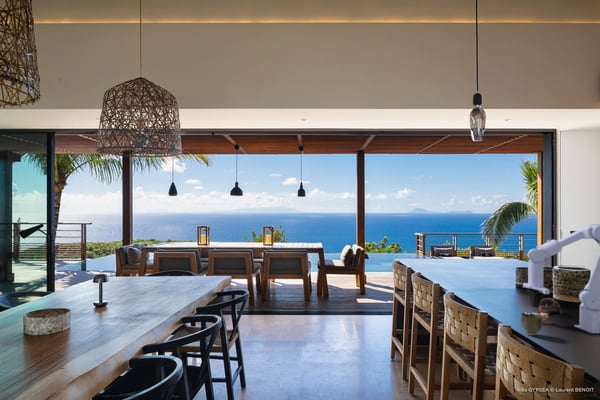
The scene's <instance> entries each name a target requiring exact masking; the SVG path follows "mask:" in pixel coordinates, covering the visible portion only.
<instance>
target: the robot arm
mask: <svg viewBox="0 0 600 400" xmlns="http://www.w3.org/2000/svg"><path fill="white" fill-rule="evenodd" d="M583 239H585V240H588V239H589V240H592V239H593V240H594V241H595V242H596V243H597V245H598V246H599V247H600V224H598V223H594V224H591V225H589V226H585V227H582V228H580V229H578V230H576V231H573V232H571V233H570V234H568V235H566V236H564V237H562V238H560V239H558V240H557V239H551V240H550V239H547V240H546V242H545V243H543V244H541V245H536V247H535V248H531V249H530V250H529V251H528V253H527V255H526V256H527V259H528V266H527V276H528V277H527V281H528V282H523V283H522V288H526V289H527V290H526V293H527V294H528V296H529V298H530V303H531V305H532V307H533V308H539V305H540V302H541V300H542V299H543V298H544V296H545V295H550V289H549V288H546V287H544V260H545V259H547V258H549V257H552V256H554V255H556V254H558V253H561V252H562V251H563V248H564V247H566V246H568V245H570V244H571V245H572V244H573V243H576V242H579V240H583ZM597 256H598V257H597V258H596V261H595V264H594V267H593V269H592V271H591V275H590V277H589V280H588V283H587V284H586V285H585V286H584V289H583V290H582V291H580V292H579V294H578V298H579V301H580V302H581V303H580V305H579V324H574V328H577V329H580V330H582V331H586V332H588V333H589V334H600V252H599V253H598V255H597Z"/></svg>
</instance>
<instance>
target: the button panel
mask: <svg viewBox="0 0 600 400" xmlns="http://www.w3.org/2000/svg"><path fill="white" fill-rule="evenodd" d="M519 321H520V322H521V323H522V318H521V317H520V318H519ZM552 324H553V322H552V321H551V320H549V319H548V318H543V321H542V325H552Z"/></svg>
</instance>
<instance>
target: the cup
mask: <svg viewBox="0 0 600 400" xmlns="http://www.w3.org/2000/svg"><path fill="white" fill-rule="evenodd" d="M526 313H527V314H526ZM528 313H529V312H523V313H521V314H520V316H521V317H520V318H522V322H521V323H522V327H523V329H524V330H525V331H526V335H528V336H530V337H537V336H538V333H539V332H540V331H541V330H542V326H543V324H542V321H543V316H542V315H539V316H538V314H537V315H535V314H532V313H533V312H530V314H528Z"/></svg>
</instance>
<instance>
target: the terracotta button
mask: <svg viewBox="0 0 600 400" xmlns="http://www.w3.org/2000/svg"><path fill="white" fill-rule="evenodd" d="M539 314H540V315H542V316H543V318H544V319H548V318H549V313H548V312H541V313H540V312H539Z"/></svg>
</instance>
